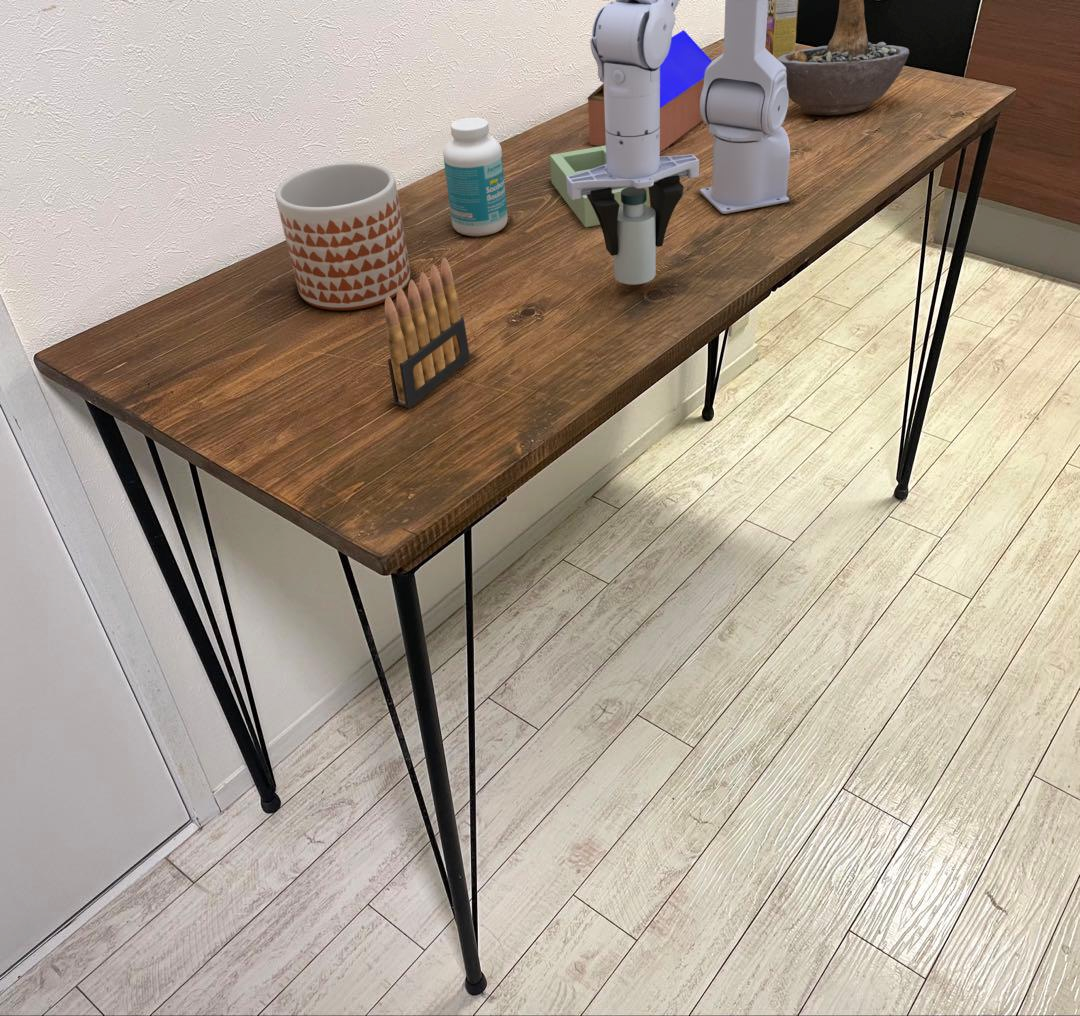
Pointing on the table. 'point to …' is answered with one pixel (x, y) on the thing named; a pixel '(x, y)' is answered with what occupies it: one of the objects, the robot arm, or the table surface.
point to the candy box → (781, 27)
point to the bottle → (635, 239)
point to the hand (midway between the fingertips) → (634, 247)
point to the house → (666, 93)
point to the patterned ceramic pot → (344, 234)
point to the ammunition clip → (425, 336)
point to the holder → (577, 164)
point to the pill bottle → (475, 179)
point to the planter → (843, 68)
